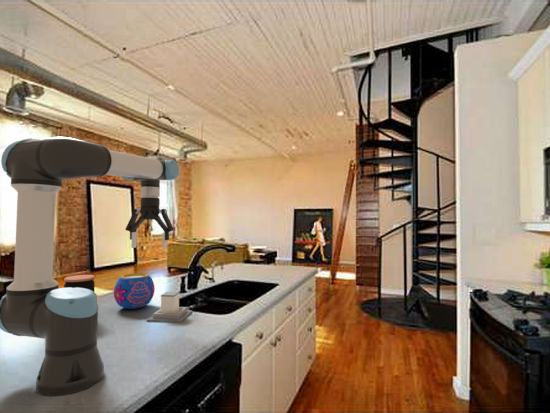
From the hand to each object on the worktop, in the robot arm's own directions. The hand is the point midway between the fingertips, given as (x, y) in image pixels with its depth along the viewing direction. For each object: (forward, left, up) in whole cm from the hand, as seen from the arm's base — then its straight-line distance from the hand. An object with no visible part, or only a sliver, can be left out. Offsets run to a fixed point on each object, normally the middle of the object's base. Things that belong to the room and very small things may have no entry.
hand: (149, 247), depth 138 cm
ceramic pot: (+14, +14, -30) cm, 35 cm away
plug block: (+3, -8, -29) cm, 30 cm away
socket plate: (+3, -8, -29) cm, 31 cm away
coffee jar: (-7, +26, -30) cm, 40 cm away
